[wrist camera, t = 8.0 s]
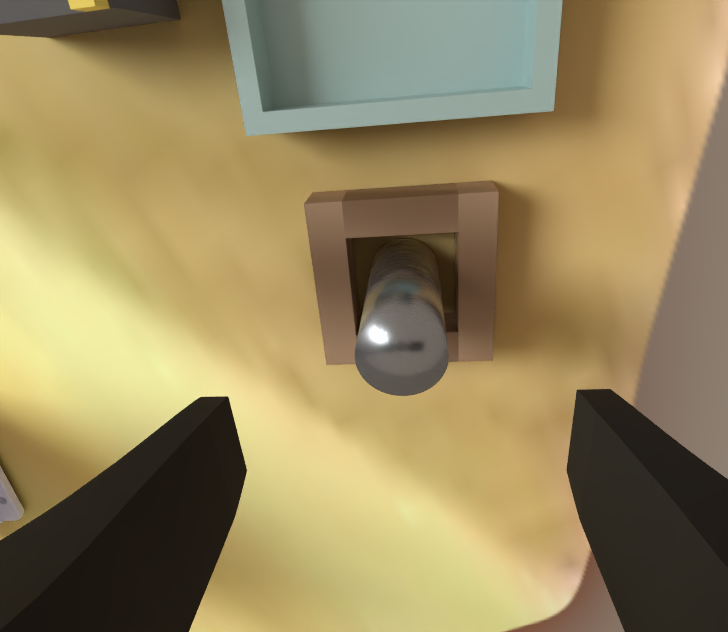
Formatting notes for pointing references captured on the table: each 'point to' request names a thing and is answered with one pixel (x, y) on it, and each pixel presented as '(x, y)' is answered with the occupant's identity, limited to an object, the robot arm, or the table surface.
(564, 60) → the table surface
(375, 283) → the pin
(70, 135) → the table surface
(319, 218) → the pin holder
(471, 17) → the tray
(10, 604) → the robot arm
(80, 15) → the chock
